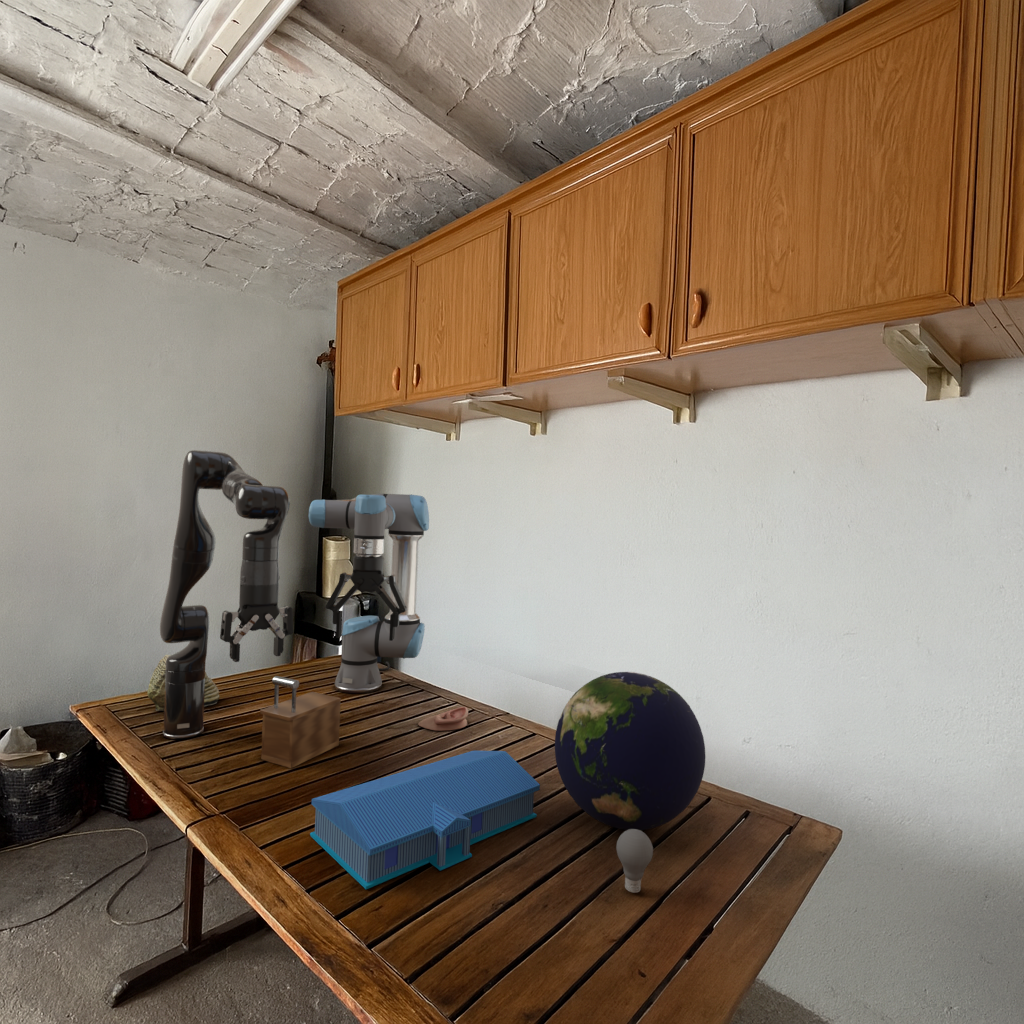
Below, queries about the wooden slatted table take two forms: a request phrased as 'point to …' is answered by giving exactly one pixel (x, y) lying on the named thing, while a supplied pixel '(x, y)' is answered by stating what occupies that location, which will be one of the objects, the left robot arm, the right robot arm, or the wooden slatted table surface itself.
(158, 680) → the fossil
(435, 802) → the model building
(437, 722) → the anatomical model
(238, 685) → the wooden slatted table surface
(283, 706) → the lid
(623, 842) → the light bulb
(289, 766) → the chest
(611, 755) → the globe
